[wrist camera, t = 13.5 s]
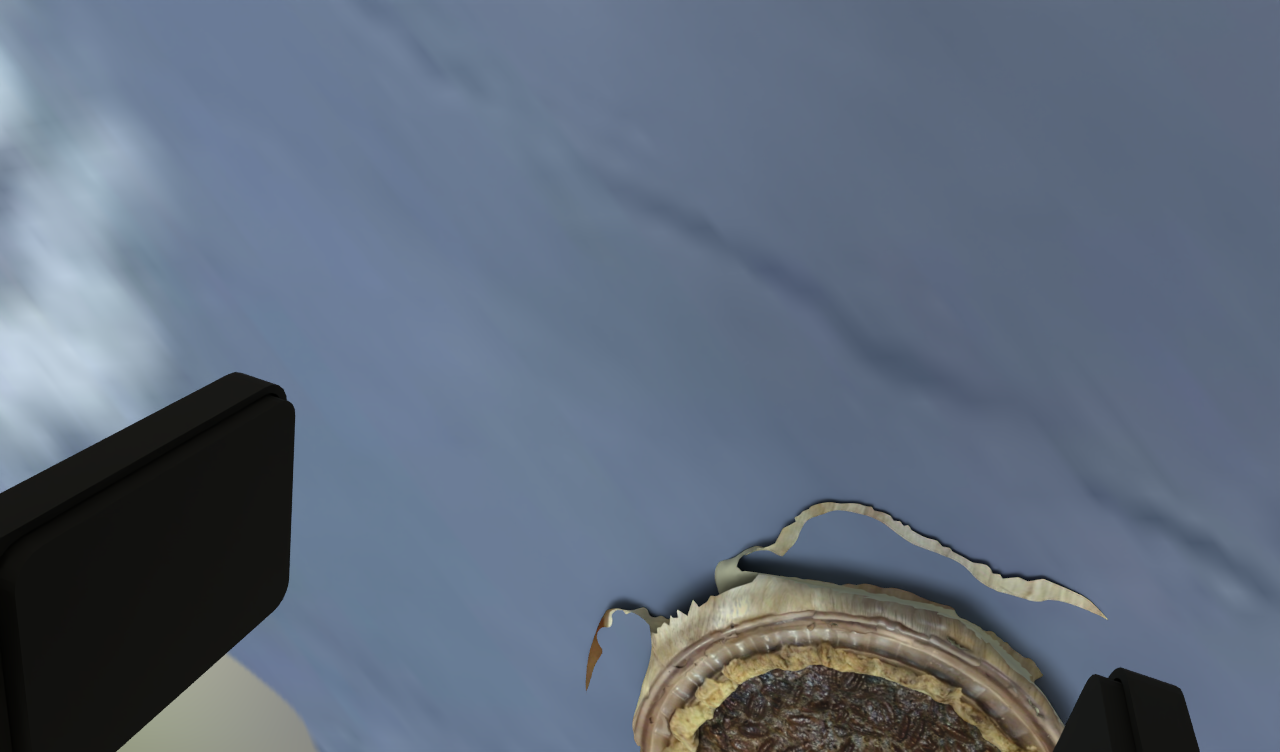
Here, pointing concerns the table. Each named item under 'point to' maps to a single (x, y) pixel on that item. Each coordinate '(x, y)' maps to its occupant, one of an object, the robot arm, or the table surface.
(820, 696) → the pie
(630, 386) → the table surface
